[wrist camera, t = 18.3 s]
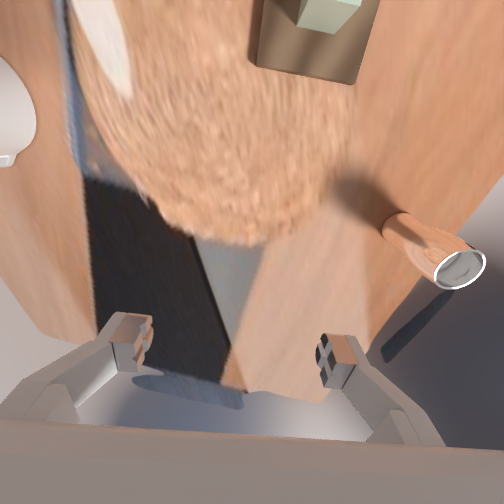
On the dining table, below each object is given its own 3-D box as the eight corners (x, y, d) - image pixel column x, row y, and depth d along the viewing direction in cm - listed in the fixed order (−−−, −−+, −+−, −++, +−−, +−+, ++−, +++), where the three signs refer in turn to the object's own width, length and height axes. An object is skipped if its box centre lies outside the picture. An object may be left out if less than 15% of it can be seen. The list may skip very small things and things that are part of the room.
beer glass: (373, 223, 44) (426, 265, 31) (410, 202, 42) (483, 238, 29) (386, 249, 47) (439, 298, 33) (420, 231, 45) (492, 275, 32)
